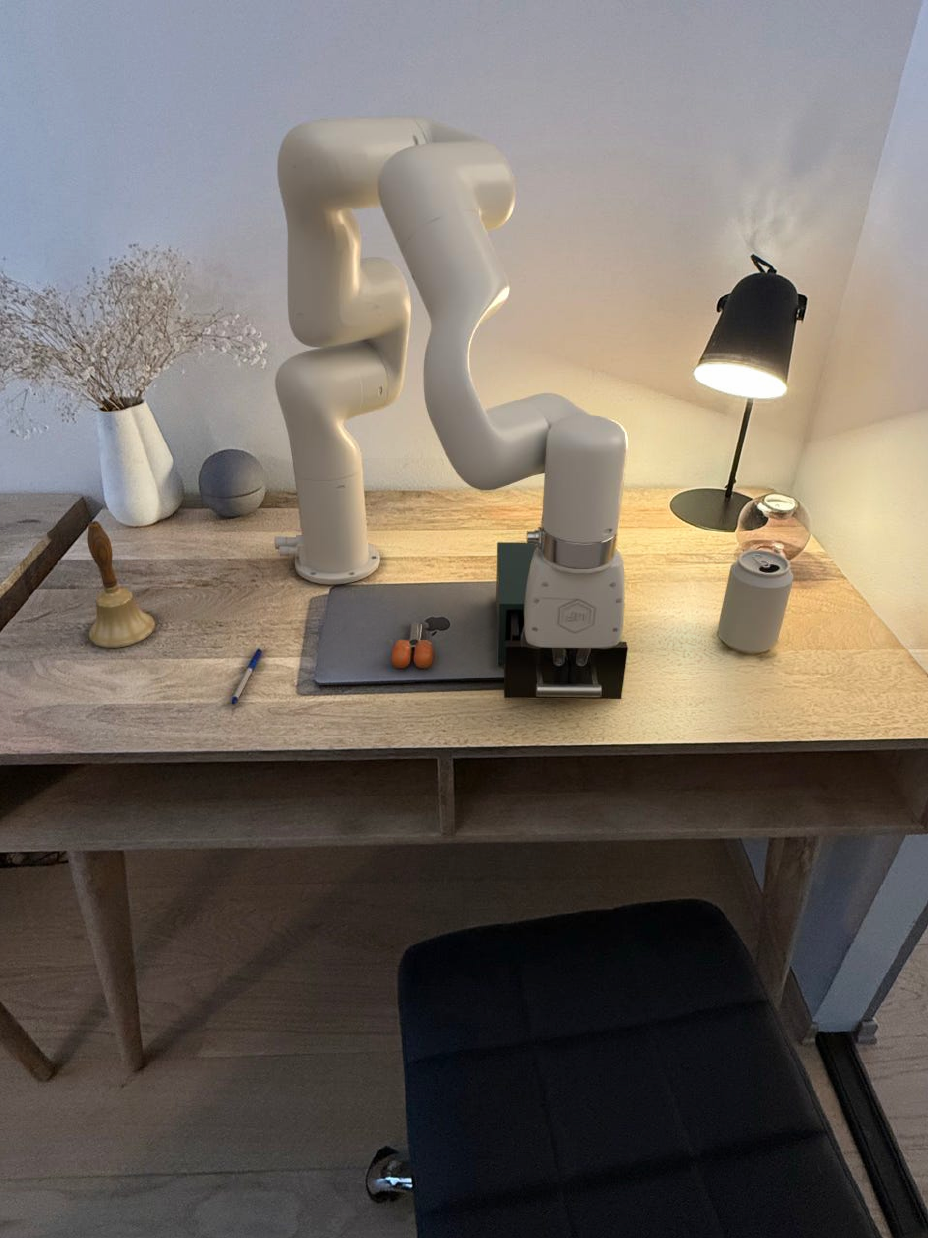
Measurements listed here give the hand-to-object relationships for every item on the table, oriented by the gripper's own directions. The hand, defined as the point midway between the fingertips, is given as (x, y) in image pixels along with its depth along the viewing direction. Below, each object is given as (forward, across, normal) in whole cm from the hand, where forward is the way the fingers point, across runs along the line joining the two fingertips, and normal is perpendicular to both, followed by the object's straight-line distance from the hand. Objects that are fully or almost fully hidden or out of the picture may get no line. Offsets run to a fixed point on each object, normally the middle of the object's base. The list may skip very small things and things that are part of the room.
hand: (566, 687), depth 92 cm
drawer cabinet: (+4, 0, +17) cm, 17 cm away
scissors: (+4, -18, +12) cm, 22 cm away
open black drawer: (+3, 0, +7) cm, 7 cm away
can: (+4, +25, +15) cm, 30 cm away
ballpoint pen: (+4, -38, +7) cm, 39 cm away
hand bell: (+4, -57, +17) cm, 60 cm away
